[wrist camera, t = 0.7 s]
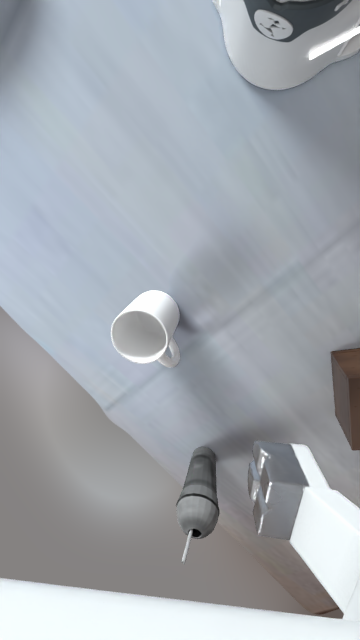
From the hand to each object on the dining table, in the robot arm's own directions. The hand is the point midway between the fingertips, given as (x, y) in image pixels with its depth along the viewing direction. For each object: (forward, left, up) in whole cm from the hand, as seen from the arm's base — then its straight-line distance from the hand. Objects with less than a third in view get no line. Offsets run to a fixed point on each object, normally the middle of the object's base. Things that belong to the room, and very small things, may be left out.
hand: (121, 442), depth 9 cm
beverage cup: (+38, +15, -40) cm, 57 cm away
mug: (+14, -3, -40) cm, 42 cm away
